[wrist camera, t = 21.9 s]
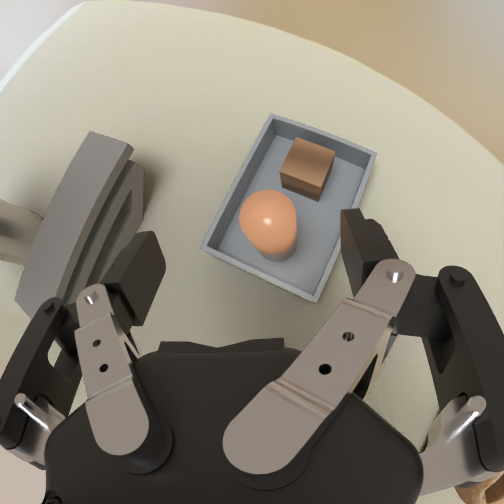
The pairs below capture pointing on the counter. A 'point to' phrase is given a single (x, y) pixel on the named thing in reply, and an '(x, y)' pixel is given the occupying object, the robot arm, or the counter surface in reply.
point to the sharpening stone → (84, 223)
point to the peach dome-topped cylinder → (270, 224)
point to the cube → (307, 169)
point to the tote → (307, 211)
